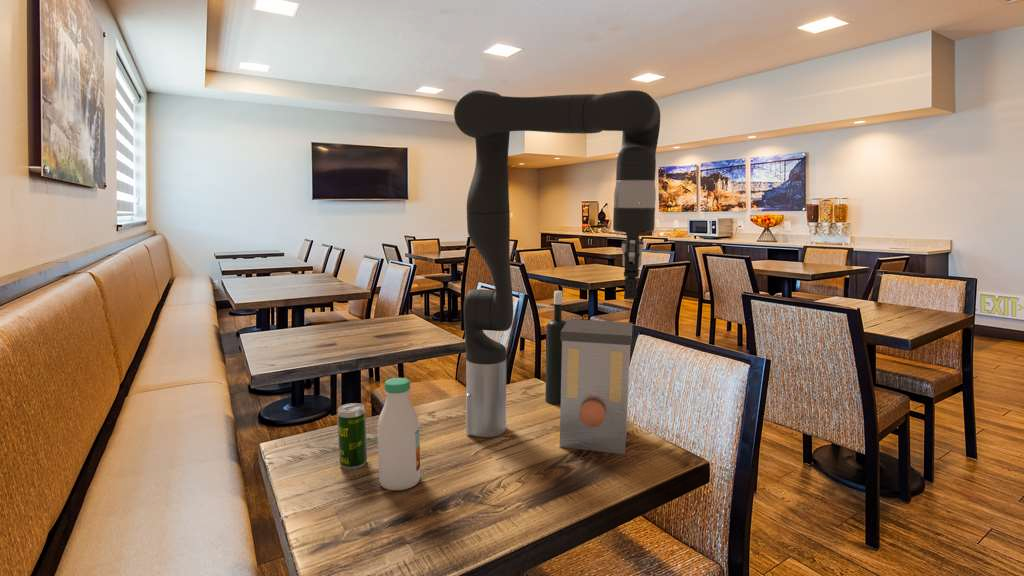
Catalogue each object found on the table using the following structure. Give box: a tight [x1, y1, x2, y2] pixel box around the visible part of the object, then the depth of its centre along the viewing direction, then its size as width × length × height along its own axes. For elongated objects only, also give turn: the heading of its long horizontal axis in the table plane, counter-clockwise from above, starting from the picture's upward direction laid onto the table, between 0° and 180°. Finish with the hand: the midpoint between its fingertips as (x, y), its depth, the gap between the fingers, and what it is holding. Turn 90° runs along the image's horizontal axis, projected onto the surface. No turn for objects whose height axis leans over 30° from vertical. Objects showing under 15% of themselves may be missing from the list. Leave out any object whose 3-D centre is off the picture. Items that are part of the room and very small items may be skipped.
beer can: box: [337, 402, 368, 471], centre depth 109 cm, size 5×5×12 cm
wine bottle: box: [544, 290, 567, 405], centre depth 143 cm, size 6×6×30 cm
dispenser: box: [559, 318, 633, 455], centre depth 120 cm, size 13×15×26 cm
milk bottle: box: [377, 377, 421, 492], centre depth 102 cm, size 8×8×20 cm
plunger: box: [579, 400, 605, 427], centre depth 119 cm, size 14×5×5 cm, turn 166°
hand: (630, 297), depth 103 cm, fingers closed
